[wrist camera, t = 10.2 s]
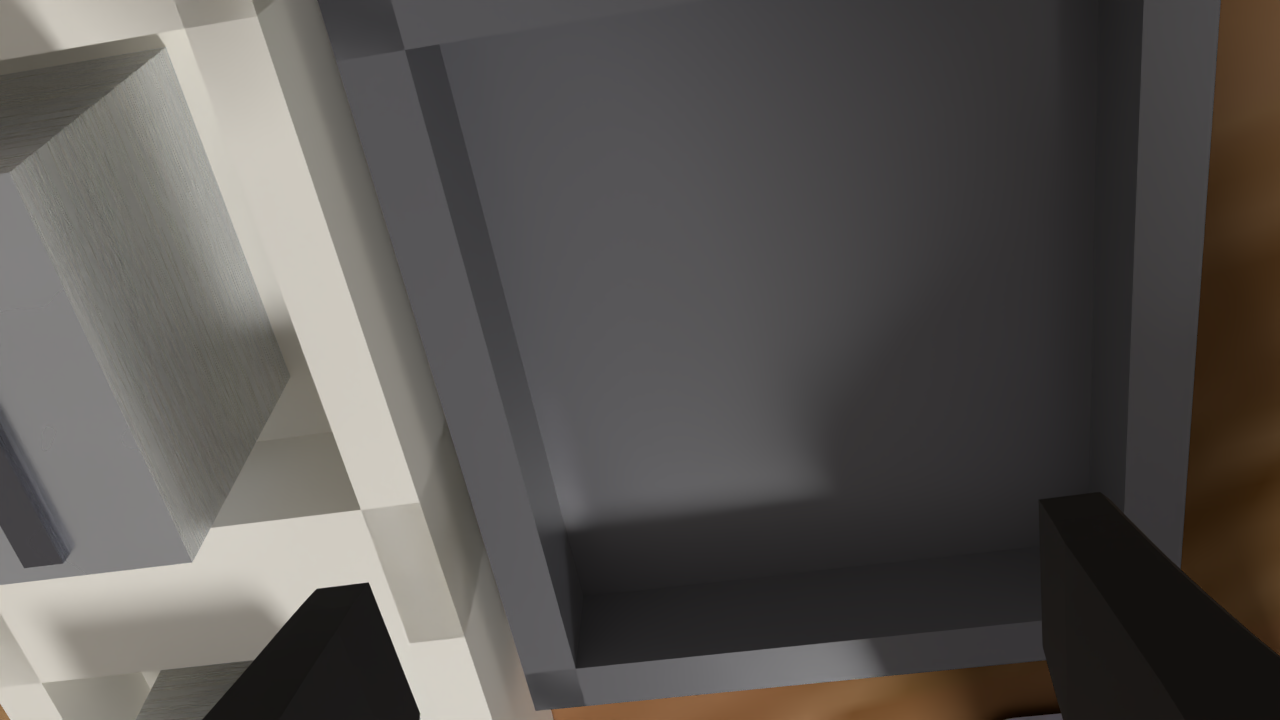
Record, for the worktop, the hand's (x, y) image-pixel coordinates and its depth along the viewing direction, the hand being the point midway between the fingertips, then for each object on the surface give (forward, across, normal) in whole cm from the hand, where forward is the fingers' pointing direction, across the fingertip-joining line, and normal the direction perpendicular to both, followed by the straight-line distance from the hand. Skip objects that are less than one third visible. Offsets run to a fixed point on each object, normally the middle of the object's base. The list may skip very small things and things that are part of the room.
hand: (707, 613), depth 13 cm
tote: (+9, -2, +1) cm, 10 cm away
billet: (+8, +10, -2) cm, 13 cm away
